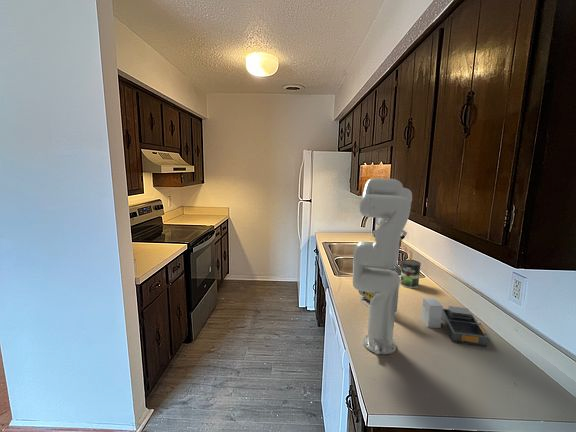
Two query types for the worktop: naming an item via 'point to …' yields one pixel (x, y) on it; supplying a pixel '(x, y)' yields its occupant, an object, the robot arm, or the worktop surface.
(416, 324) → the worktop surface
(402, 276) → the coffee can
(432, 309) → the small box
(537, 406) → the worktop surface
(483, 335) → the rack
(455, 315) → the module
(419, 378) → the worktop surface
